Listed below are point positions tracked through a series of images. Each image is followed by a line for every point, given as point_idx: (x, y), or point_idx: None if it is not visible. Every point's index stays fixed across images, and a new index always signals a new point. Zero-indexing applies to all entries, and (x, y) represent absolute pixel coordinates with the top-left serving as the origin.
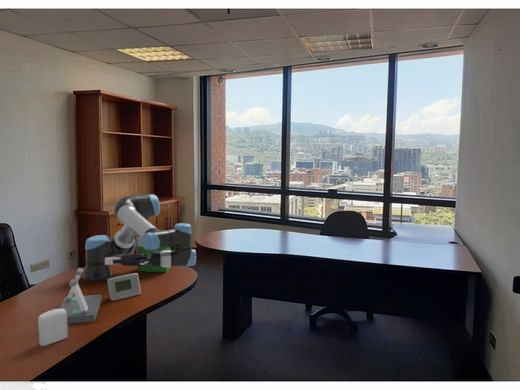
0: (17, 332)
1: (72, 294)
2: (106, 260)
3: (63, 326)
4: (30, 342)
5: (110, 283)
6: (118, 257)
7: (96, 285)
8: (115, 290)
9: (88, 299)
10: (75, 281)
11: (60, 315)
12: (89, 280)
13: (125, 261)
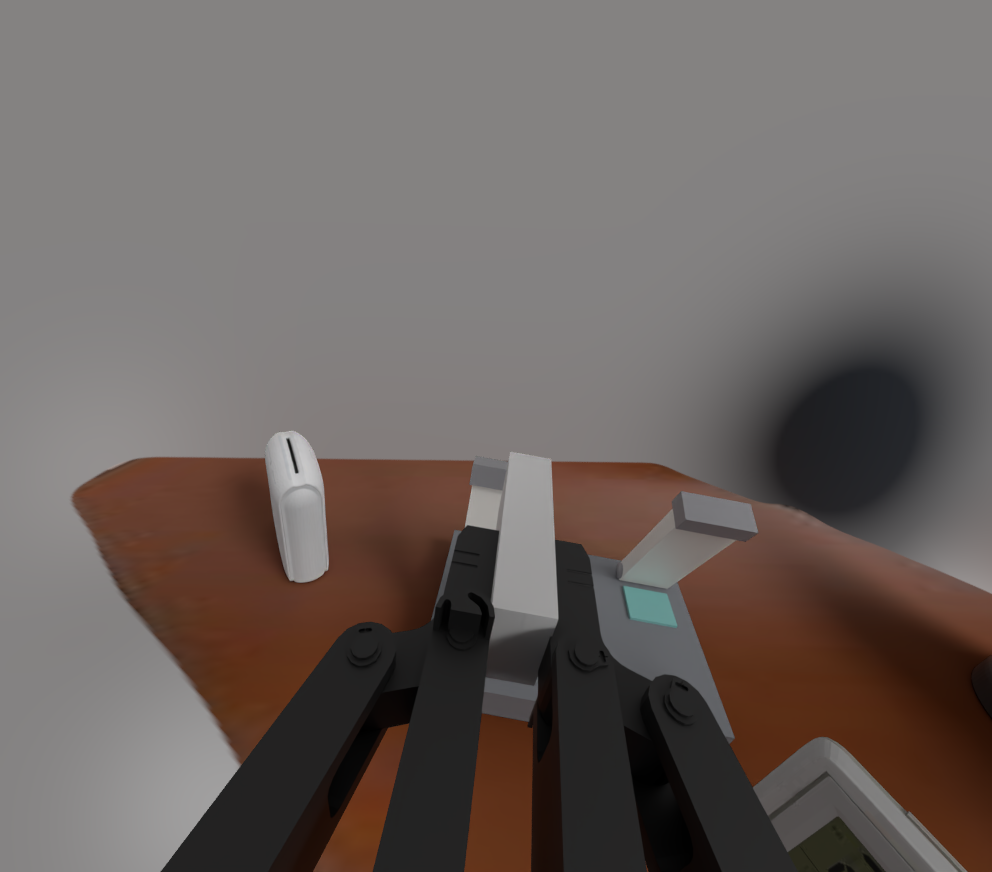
0: (433, 478)
1: (644, 573)
2: (505, 481)
3: (277, 531)
4: (339, 498)
5: (802, 775)
6: (539, 580)
7: (946, 733)
8: (786, 848)
9: (647, 658)
10: (492, 472)
11: (270, 483)
12: (980, 691)
13: (301, 705)
